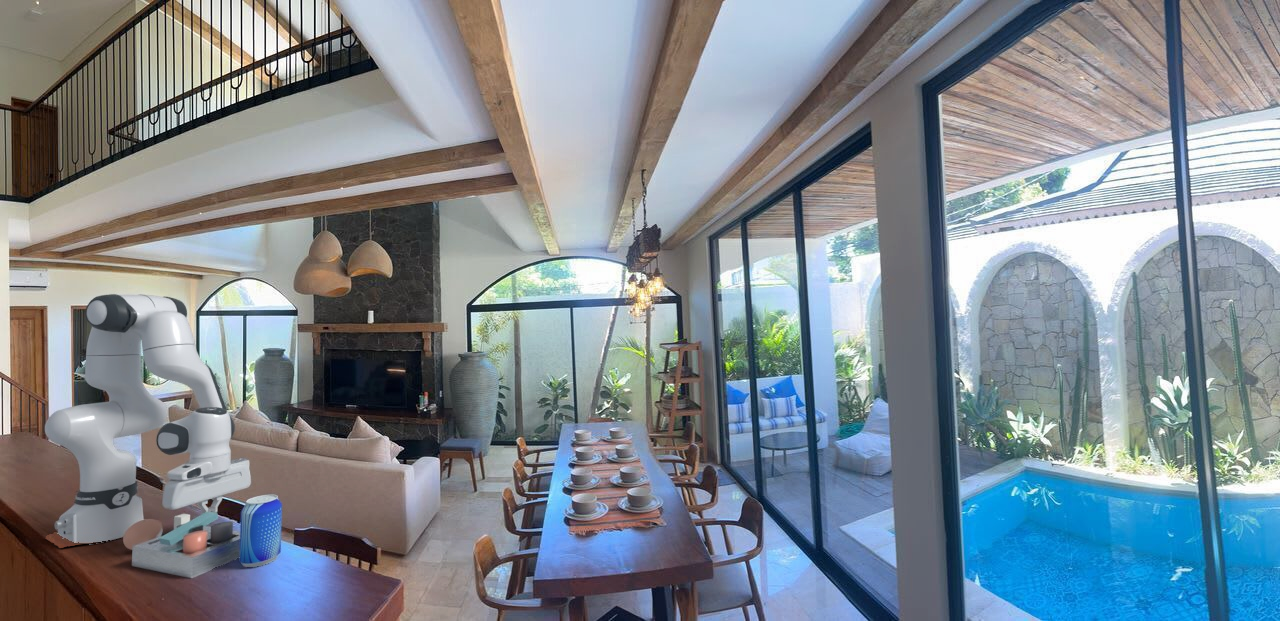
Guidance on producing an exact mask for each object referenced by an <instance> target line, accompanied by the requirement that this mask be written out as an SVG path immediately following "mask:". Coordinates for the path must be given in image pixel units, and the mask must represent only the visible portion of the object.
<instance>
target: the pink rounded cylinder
mask: <svg viewBox="0 0 1280 621" xmlns="http://www.w3.org/2000/svg"><path fill="white" fill-rule="evenodd" d="M206 548H207V531H196V532H192V533H189V534H186V535H185V536H184V537H183V553H184V554H189V555H190V554H193V553H195V552H198V551H200V550H203V549H206Z"/></svg>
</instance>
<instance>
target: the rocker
mask: <svg viewBox="0 0 1280 621" xmlns="http://www.w3.org/2000/svg"><path fill="white" fill-rule="evenodd" d="M218 519H220V518H219V515H218V512H217V513H213V512H205V513H204V514H202V515H201V514H200V515H198V516H196V517H195V518H193V519H190V521H189V522H187V523H185V524H184V525H182V526H180V527H178V528H176V529H174V528H173V530H171V531H169V532H168V533H166V534H164V535H161V536H162V537H160V538H159V541H160V544H165V545H170V546H171V545H173V544H175V543H177V542H178V541H180V540H182V539H183V537H184V536H185V535H186V534H189V533H190V530H191V528H193V527H196V526H199V525H203V527H205V526H209V525H210V524H212V523H213V522H215V521H217V520H218Z"/></svg>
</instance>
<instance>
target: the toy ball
mask: <svg viewBox="0 0 1280 621" xmlns="http://www.w3.org/2000/svg"><path fill="white" fill-rule="evenodd" d="M144 519H145V520H141V521H138V522H136V523H135V524H133V525H132V526H130V527H129V528H128V529H127V531H126V532H125V534H124V537H122V541H123V543H122V544H124V546H125V548H126V549H128V550H131V551H132V547H133V546H134V545H137V544H140V543H143V542H146V541H149V540H152V539H155V538H158V537H161V536H163V529H164V528H163V523H162V521H161V520H157V519H155V518H144Z"/></svg>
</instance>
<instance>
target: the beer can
mask: <svg viewBox="0 0 1280 621" xmlns="http://www.w3.org/2000/svg"><path fill="white" fill-rule="evenodd" d="M282 512H283V504H282V502H281V500H279V497H278V495H277V494H263V495H262V494H261V495H258V496H254V497H251V498H248V499H247V500H246V501H245V505H244V506H243V507H242V508H241V511H240V529H239V530H240V558H239V559H238V560H239V563H240V564H241V565H242V567H244V568H247V567H253V568H257V566H259V567H263V566H265V564H266V565H269V564H270V562H271V563H273V562H274V561H275V560H277V558H278V556H279V555H280V554H281V551H282V548H281V547H282V515H283V514H282ZM278 540H279V541H278ZM272 561H273V562H272ZM268 563H269V564H268ZM262 565H263V566H262Z"/></svg>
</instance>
